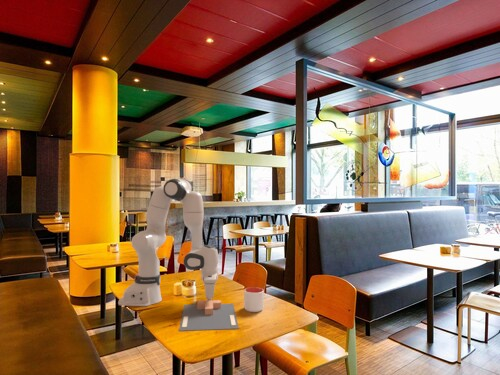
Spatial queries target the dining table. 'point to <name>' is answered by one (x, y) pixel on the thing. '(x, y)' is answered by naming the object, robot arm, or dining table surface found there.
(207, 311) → the t block
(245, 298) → the cup
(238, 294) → the dining table surface
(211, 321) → the mat
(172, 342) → the dining table surface
